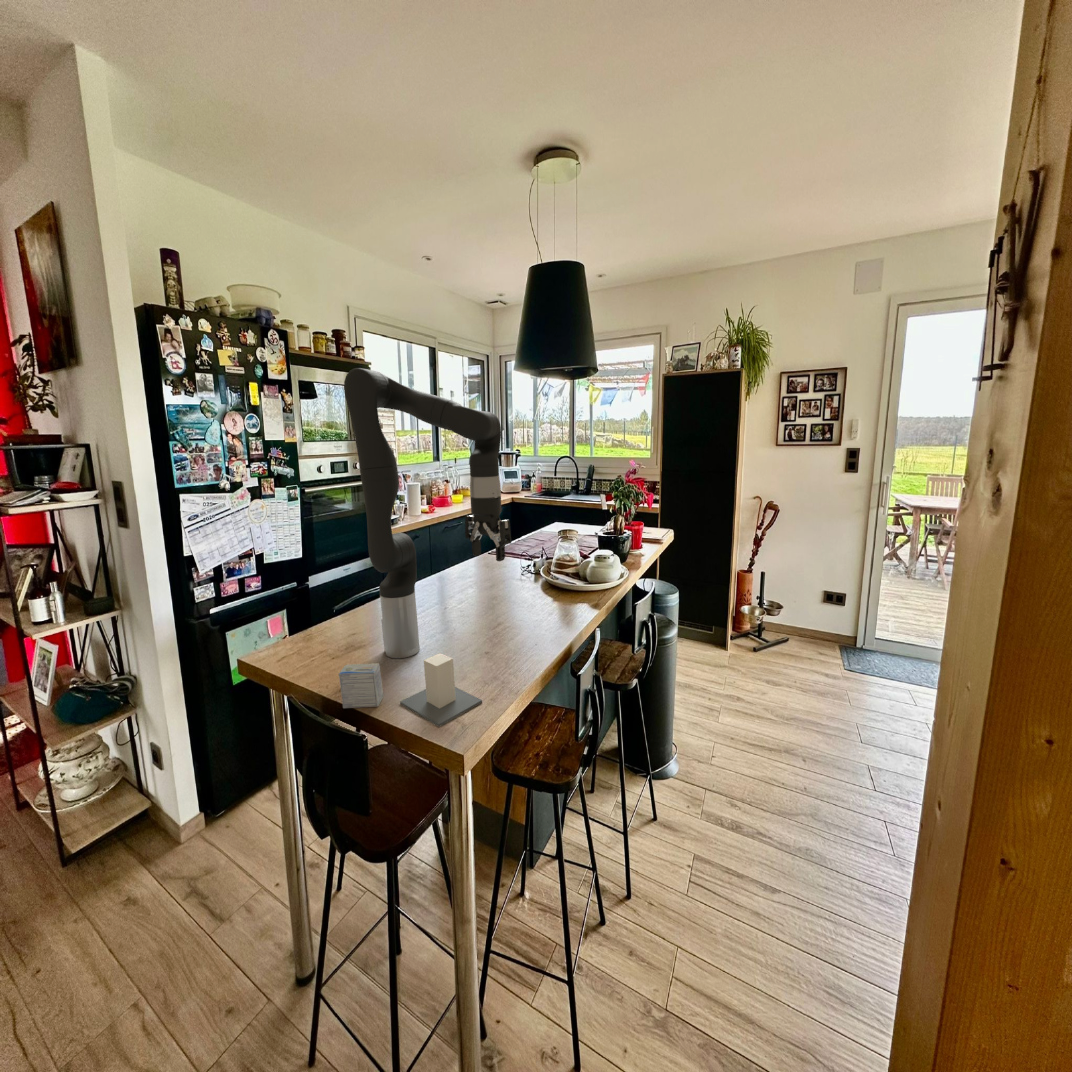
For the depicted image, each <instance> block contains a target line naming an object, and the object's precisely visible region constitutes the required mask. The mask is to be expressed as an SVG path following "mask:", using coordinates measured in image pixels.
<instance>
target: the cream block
mask: <svg viewBox="0 0 1072 1072" xmlns="http://www.w3.org/2000/svg"><path fill="white" fill-rule="evenodd" d="M423 668H424V680H425V689H426V695H427V702H429V703H430V704H432V705H434V706H436V707H438V708H442V707H443V706H445V705H447V704H449V703H451V702H453V701H455V700H456V697H455V687H456V685H455V683H456V682H455V669H454V658H453V657H450V656H447V655H445V654H443V653H437V654H435V655H432V656H431V657H428V658H425V659H424V660H423Z"/></svg>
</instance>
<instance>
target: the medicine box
mask: <svg viewBox="0 0 1072 1072" xmlns="http://www.w3.org/2000/svg"><path fill="white" fill-rule="evenodd" d="M338 678H339V686H340V694H341V702H342V708H343V709H353V708H354V709H355V708H357V709H358V708H373V707H374V708H375V707H380V703H381V702H382V700H383V698H384V692H383V690H384V689H383V682H382V674H381V666H380V663H379V662H378V663H377V662H376V663H356V664H355V663H354V664H345V665H344V667H343V668H342V669H341V671H340V672H339V673H338Z"/></svg>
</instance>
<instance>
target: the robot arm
mask: <svg viewBox="0 0 1072 1072" xmlns="http://www.w3.org/2000/svg"><path fill="white" fill-rule="evenodd" d="M343 386H344V387H343V389H344V390H343V391H344V396H345V401H346V405H347V408H348V411H349V415H350V420H351V424H352V428H353V429H352V430H353V433H354V439H355V446H356V451H357V458H358V465H359V466H358V467H359V473H360V480H361V481H360V482H361V487H362V490H363V497H364V498H363V499H364V505H365V514H366V526H367V528H366V529H367V546H368V547H367V548H368V549H367V550H368V556H369V559H370V562H371V565H372V567H373V568H374V569H375V570H377V572H380V573H383V574H386V577H385V578H384V579H383V580H382V581H381V582H380V584H379V587H378V588H379V590H378V591H379V598H380V600H379V601H380V607H381V608H380V609H381V630H382V640H383V649H384V651H385V655H386V657H388V658H391V659H404V658H409V657H412V656H415V655H416V654H418V653H419V651H420V650H421V649H420V637H419V635H420V634H419V625H418V613H417V612H418V611H417V599H416V589H415V588H416V587H415V586H416V583H417V577H418V576H417V575H418V574H417V573H418V569H417V568H418V566H417V552H416V551H417V550H416V547H415V543H414V541H413V539H412V538H411V537H410V536H409V535H408V534H406V533H404V532H396V533H393V531H392V515H393V514H392V513H393V509H394V506H395V503H396V500H397V496H398V492H399V488H400V479H399V471H398V466H397V465H398V464H397V459H396V456H395V453H394V451H393V450H392V448H391V445H390V444H389V442H388V440H387V438H386V436H385V435H384V432H383V429H382V427H381V424H380V418H379V411H378V409H386V410H387V409H388V410H394V411H399V412H403V413H405V414H408V415H410V416H413V417H414V418H416V419H417V420H420V421H422V422H424V423H426V424H429V425H432V426H435V427H438V428H441V429H443V430H446V431H450V432H453V433H455V434H457V435H458V436H460V437H463V438H466V439H468V440H471V441H474V448H473V452H472V453H470V456H469V475H470V477H469V478H470V479H469V480H470V481H469V493H470V495H469V497H470V511H471V514H469V515H466V516H464V525H465V526H464V527H465V528H464V530H465V531H464V533H465V536H464V537H465V538H466V539H469V540H470V543H471V549H472V550H471V552H472V555H473V556H474V557H478V556H481V555H482V545H481V544H482V543H481V539H482V536H483V535H485V536H487V537H489V538H490V540H492V541H493V542H494V544H495V560H496V561H497V562H502V561H504V560H505V558H506V545H509V544H512V535H511V534H512V533H511V522H510V519H502V520H501V518H500V514H501V513H502V492H501V491H502V488H501V487H502V486H501V481H500V466H499V454H500V448H501V441H502V440H501V439H502V428H501V422H500V420H499V418H498V416H497V415H496V414H495V413H493V412H491V411H486V410H485V411H484V410H478V409H474V408H469V407H466V406H463V405H462V404H461V403H459V402H457V401H453V400H451V399H447V398H445V397H441V396H439V395H434V394H431V393H427V392H424V391H420V390H417V389H413V388H410V387H408V386H406V385H403V384H402V383H400V382H398V381H396V380H394V379H392V378H391V377H389V376H387V375H385V374H383V373H382V372H379V371H377V370H372V369H367V368H361V367H355V368H352V369H351V370H349V372H347V374H346V376H345V379H344V384H343Z"/></svg>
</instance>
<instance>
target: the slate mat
mask: <svg viewBox="0 0 1072 1072" xmlns="http://www.w3.org/2000/svg"><path fill="white" fill-rule="evenodd" d="M455 697H456V700H455V701H453V702H451V703H449V704H447V705H445V706H443V707H442V708H438V707H436V706H434V705H432V704H430V703H429V702H427V695H426V688H425V689H422V690H420V691H419V692H417V693H415V694H413V695H411V696H409V697H407V698H405V699H402V700H401V701H399V704H400V706H403V707H405V708H406V709H408V710H410V711H411V712H413V713H415V714H416V715H418V716H420V717H421V718H423V719H425V720H427V721H428V722H430V723H432V724H433V725H435V726H436V727H438V728H440V727H441V726H443V725H445V724H447V723H449V722H450V721H453V720H454V719H456V718H458V717H460V716H461V715H462V714H464V713H467V712H468V711H469V710H471V709H473V708H474V707H477V706H478V705H480V704H482V703H483V700H482V699H480V698H479V697H476V696H475V695H473V694H470V693H468V692H466V691H464V690H462V689H461V688H459V687H457V686H455Z"/></svg>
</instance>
